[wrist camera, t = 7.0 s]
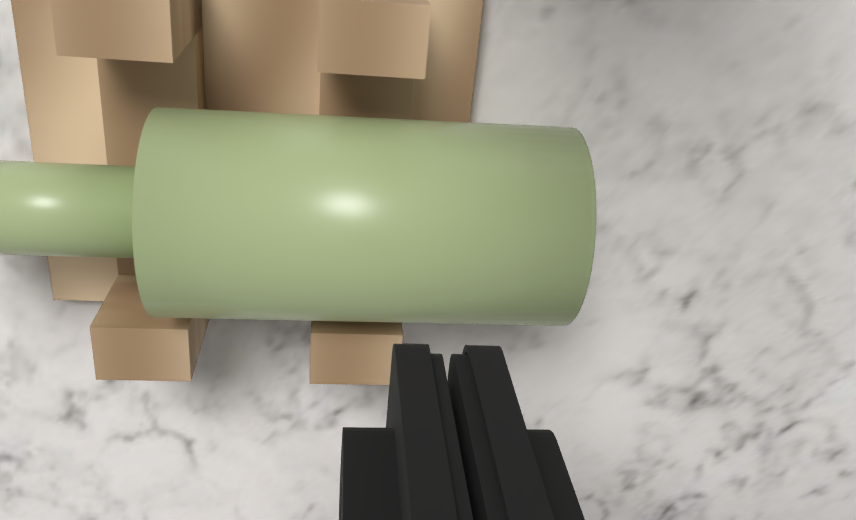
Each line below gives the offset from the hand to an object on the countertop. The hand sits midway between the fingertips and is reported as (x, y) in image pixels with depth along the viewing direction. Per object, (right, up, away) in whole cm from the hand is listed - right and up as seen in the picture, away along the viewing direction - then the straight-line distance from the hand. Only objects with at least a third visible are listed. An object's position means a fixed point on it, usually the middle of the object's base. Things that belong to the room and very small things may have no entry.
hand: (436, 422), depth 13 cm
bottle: (+3, +3, +8) cm, 9 cm away
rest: (-5, +6, +11) cm, 13 cm away
